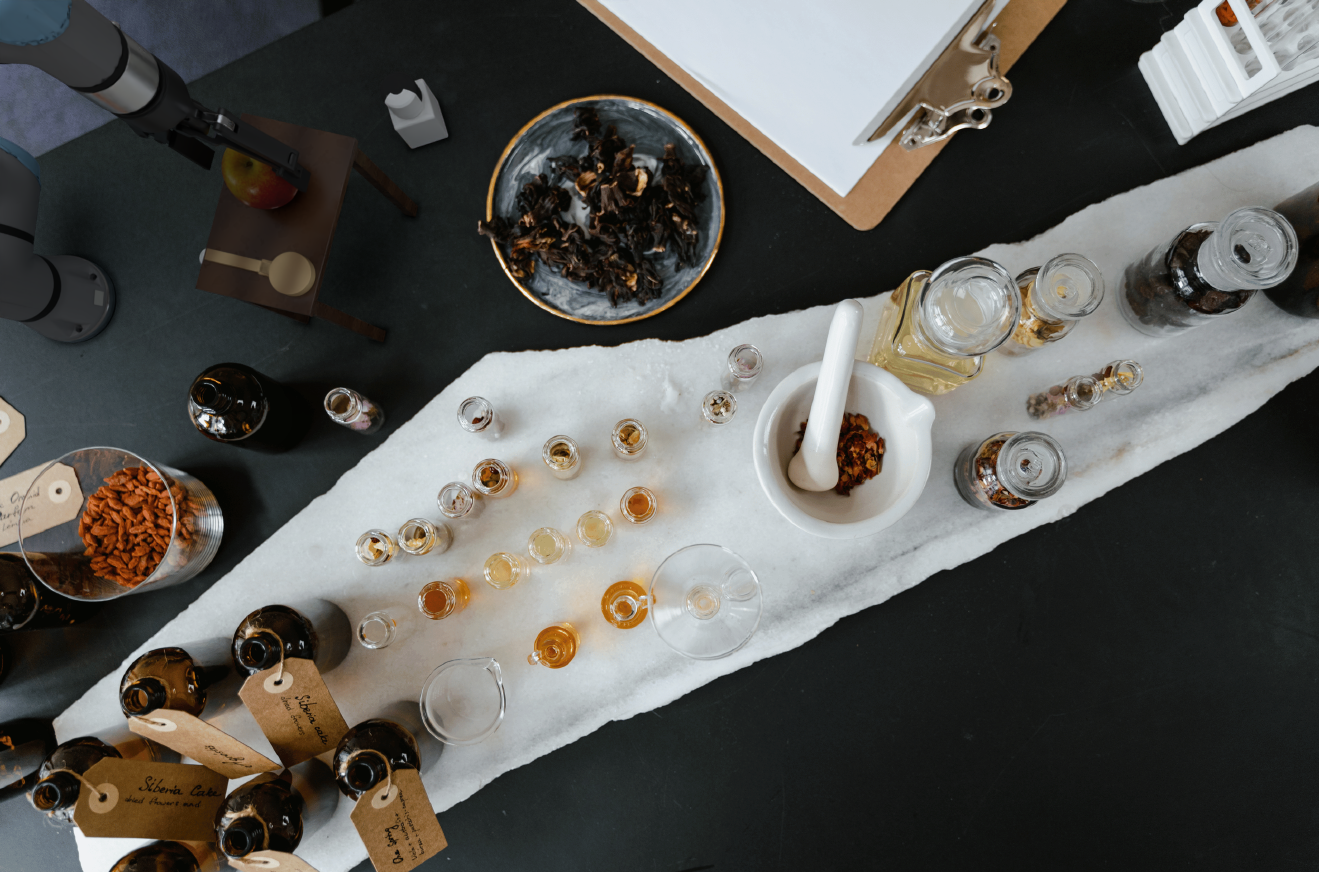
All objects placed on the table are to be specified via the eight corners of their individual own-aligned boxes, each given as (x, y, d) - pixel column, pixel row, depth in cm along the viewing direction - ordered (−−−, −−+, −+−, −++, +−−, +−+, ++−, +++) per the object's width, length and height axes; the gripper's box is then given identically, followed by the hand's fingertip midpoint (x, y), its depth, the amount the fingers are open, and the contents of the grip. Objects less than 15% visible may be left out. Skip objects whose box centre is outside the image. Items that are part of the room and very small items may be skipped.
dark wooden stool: (293, 323, 118) (194, 288, 94) (330, 183, 118) (241, 112, 94) (385, 345, 117) (309, 315, 93) (421, 204, 118) (355, 137, 94)
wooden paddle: (205, 276, 94) (199, 273, 92) (216, 235, 94) (210, 232, 93) (309, 300, 93) (304, 298, 92) (320, 259, 93) (315, 256, 92)
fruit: (286, 229, 94) (249, 207, 86) (234, 197, 94) (192, 172, 86) (322, 172, 94) (289, 145, 86) (270, 140, 94) (232, 110, 86)
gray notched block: (400, 112, 119) (368, 73, 107) (438, 100, 118) (410, 59, 106) (411, 149, 118) (381, 114, 106) (449, 137, 118) (423, 100, 106)
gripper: (252, 71, 68) (353, 164, 89) (23, 20, 69) (177, 124, 90) (234, 142, 68) (339, 218, 89) (4, 89, 68) (163, 177, 90)
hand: (258, 171), depth 89 cm, fingers open, 13 cm apart
